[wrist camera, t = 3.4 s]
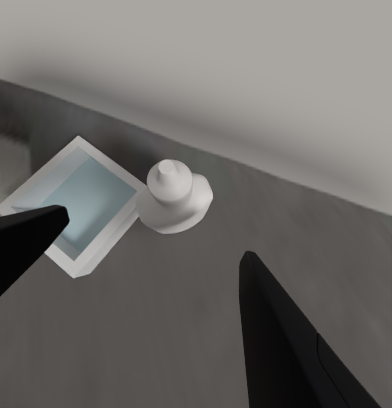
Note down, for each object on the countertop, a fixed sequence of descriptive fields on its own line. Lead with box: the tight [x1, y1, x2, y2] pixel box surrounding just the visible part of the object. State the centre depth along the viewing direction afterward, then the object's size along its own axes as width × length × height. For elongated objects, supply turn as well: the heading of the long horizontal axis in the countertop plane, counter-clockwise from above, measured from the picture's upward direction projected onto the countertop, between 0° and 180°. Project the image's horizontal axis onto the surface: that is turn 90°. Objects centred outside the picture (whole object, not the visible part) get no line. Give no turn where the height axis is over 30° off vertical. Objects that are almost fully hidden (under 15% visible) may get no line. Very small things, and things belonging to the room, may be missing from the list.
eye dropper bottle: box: [135, 160, 213, 234], centre depth 13 cm, size 4×6×12 cm
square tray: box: [0, 135, 147, 278], centre depth 17 cm, size 10×10×2 cm
